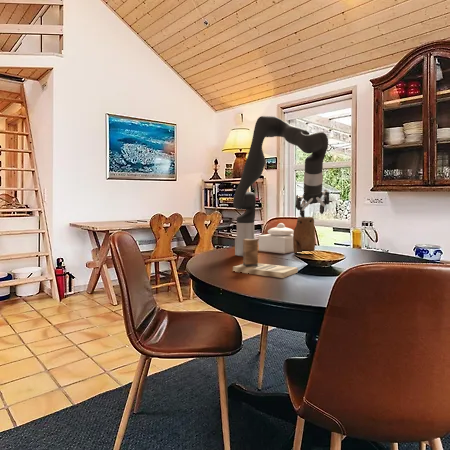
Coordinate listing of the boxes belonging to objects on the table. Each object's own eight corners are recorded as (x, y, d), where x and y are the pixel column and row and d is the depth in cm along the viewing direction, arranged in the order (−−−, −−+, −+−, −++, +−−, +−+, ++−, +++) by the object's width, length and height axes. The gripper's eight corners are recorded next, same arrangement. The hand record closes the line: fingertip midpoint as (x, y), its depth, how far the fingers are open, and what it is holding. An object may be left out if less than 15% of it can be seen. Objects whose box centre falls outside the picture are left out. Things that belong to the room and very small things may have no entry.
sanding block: (245, 266, 159) (245, 240, 158) (243, 264, 164) (243, 238, 163) (257, 266, 160) (257, 239, 159) (254, 264, 165) (254, 238, 164)
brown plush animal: (312, 253, 208) (313, 216, 207) (315, 255, 201) (315, 217, 199) (292, 253, 208) (292, 216, 207) (294, 255, 201) (294, 217, 199)
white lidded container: (284, 253, 208) (284, 224, 206) (258, 250, 220) (258, 223, 219) (301, 250, 221) (302, 222, 219) (275, 247, 233) (275, 221, 231)
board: (232, 271, 159) (232, 266, 159) (249, 266, 170) (249, 262, 170) (283, 278, 146) (283, 272, 146) (297, 272, 157) (297, 267, 156)
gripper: (325, 174, 162) (323, 207, 170) (293, 180, 160) (293, 213, 168) (333, 181, 156) (331, 216, 164) (300, 188, 154) (299, 222, 162)
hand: (311, 214), depth 166 cm, fingers open, 8 cm apart
